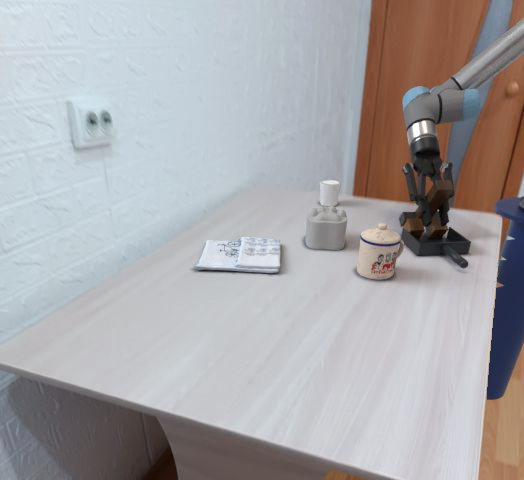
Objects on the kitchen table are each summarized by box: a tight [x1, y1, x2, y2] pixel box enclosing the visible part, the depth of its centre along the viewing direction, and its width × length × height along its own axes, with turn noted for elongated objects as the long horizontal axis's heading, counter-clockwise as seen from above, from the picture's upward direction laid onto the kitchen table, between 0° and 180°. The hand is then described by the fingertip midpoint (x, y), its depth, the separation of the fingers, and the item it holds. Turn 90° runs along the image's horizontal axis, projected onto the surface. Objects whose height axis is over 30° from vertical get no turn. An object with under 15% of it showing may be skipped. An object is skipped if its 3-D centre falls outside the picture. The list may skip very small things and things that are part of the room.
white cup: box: [319, 179, 342, 207], centre depth 156 cm, size 7×7×7 cm
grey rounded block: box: [304, 205, 348, 251], centre depth 128 cm, size 10×13×9 cm
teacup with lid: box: [356, 222, 405, 281], centre depth 110 cm, size 12×9×12 cm
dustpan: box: [400, 226, 472, 269], centre depth 122 cm, size 22×14×3 cm, turn 8°
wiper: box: [398, 179, 453, 228], centre depth 127 cm, size 11×3×16 cm
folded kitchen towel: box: [193, 235, 281, 274], centre depth 119 cm, size 19×20×2 cm
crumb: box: [424, 218, 449, 238], centre depth 132 cm, size 4×4×4 cm
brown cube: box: [401, 218, 426, 239], centre depth 131 cm, size 4×4×4 cm
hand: (436, 224), depth 125 cm, fingers closed on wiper, 4 cm apart
